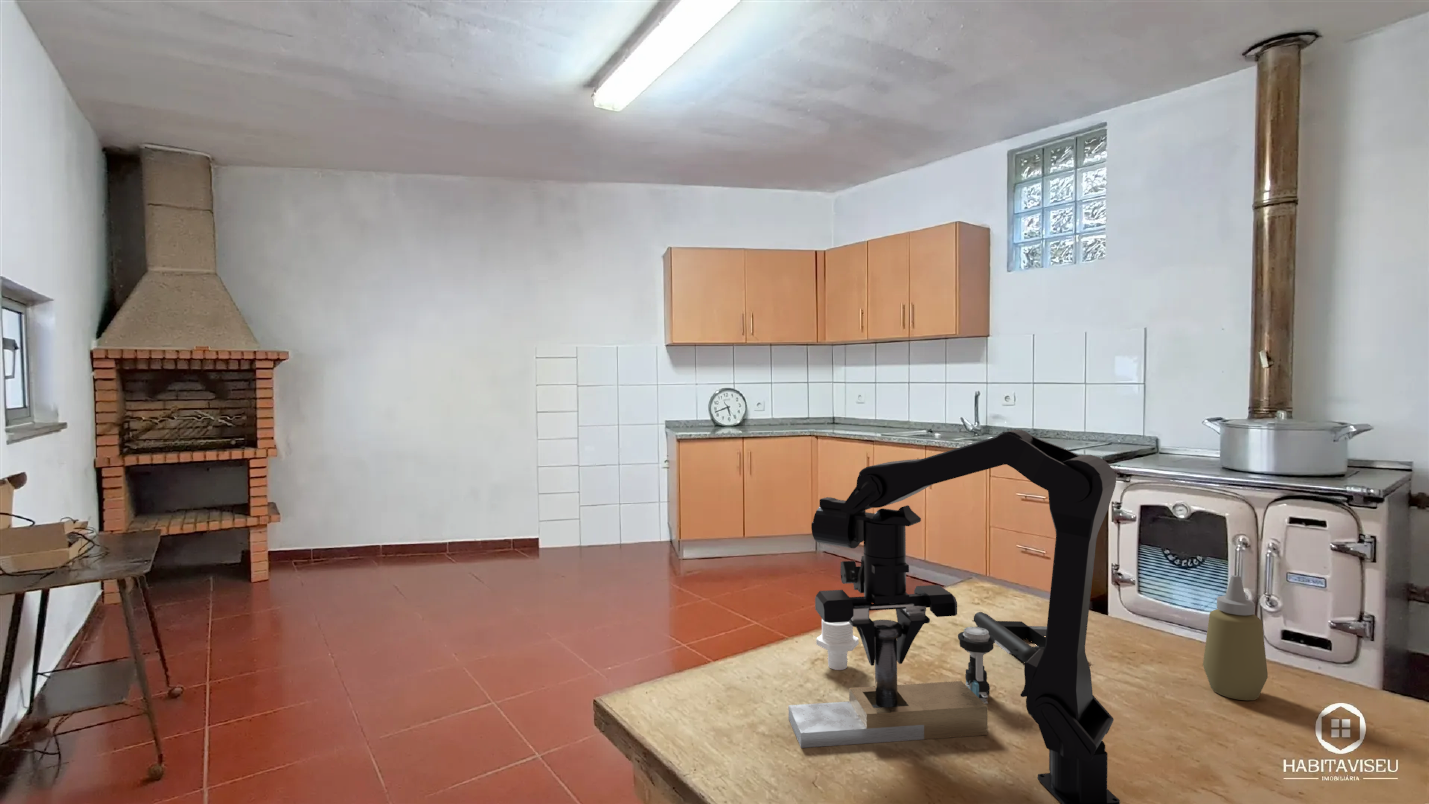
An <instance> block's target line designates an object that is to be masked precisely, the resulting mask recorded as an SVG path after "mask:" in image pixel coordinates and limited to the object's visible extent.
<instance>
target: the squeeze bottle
mask: <svg viewBox="0 0 1429 804" xmlns="http://www.w3.org/2000/svg"><path fill="white" fill-rule="evenodd" d="M1263 627H1264V626H1263V621H1262V619H1261V618H1260V617H1258V616H1257V615H1256V614H1255V602H1254V601H1252V600H1251V599H1248V598H1246V594H1245V589H1244V586H1243V582H1242V577H1241V576H1239V575H1235V574H1234V575H1231V576H1230V579H1229V581H1228V586H1227V590H1226V594H1225V595H1220V596H1217V597H1216V609H1213V610H1212V611H1210V612H1209V615H1208V622H1207V630H1206V637H1205V645H1204V653H1203V660H1202V666H1203V669H1204V673H1205V675H1206V677H1207V680H1208V683H1209V686H1210V689H1211V690H1213V692H1215V693H1216V694H1218V695H1220V696H1224V697H1226V698H1229V699H1234V700H1238V701H1255V700H1257V699H1258V698H1259V697H1260V695H1261V692H1262V690H1263V688H1264V686H1265V684H1266V682H1267V680H1268V677H1269V676H1268V675H1269V673H1268V665H1267V664H1268V663H1267V657H1266V656H1267V655H1266V648H1265V647H1266V646H1265V638H1264V637H1265V636H1264V629H1263Z"/></svg>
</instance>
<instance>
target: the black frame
mask: <svg viewBox="0 0 1429 804" xmlns="http://www.w3.org/2000/svg"><path fill="white" fill-rule="evenodd" d="M973 622H974V623H975V625H976V627H980V628H984V629H986V630H988V632H989V635H991V636H993V637H994V638H995V643H994V644H996V645H997V646H998V647H1000V648H1001V649H1002V650H1003V651H1004V652H1006V653H1007V654H1009V655H1011V656H1013V657H1016V658H1017V659H1019V660H1020V661H1021V662H1023V664H1025V663H1026V662H1027V661H1028V660H1029V659H1030V658H1031V657H1032V656H1033V655H1034V654H1035V653H1036V652H1037V651H1038V650H1039V649H1042V650H1044V648H1045V641H1046V637H1044V636H1046V631H1047V625H1045V626H1041V625H1040V626H1039V625H1036V626H1035V625H1028V624H1026V623H1025V622H1023V621H1013V620H1011V621H1010V620H995V619H994V618H993V617H991V616H990V615H989V614H987V613H985V612H982V611H978V612H976V613H975V614H974V615H973ZM1022 639H1024V640H1028V641H1029V642H1031V641H1032V642H1031V643H1032V644H1033V643H1034V644H1033V645H1034V646H1031V645H1030V644H1029V643H1027V642H1026V641H1024V640H1022ZM1035 644H1036V645H1037V646H1036V645H1035Z"/></svg>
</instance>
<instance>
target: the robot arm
mask: <svg viewBox="0 0 1429 804" xmlns="http://www.w3.org/2000/svg"><path fill="white" fill-rule="evenodd" d="M1004 465H1007V466H1009V467H1010V468H1012V469H1014V470H1016V472H1017V473H1019V474H1021V475H1022V476H1023V477H1024V478H1025V479H1027V480H1028V481H1030V482H1031V483H1033V484H1034V485H1037V486H1038V487H1040V488H1041V489H1044V490H1046V491H1047V493H1048V506H1049V513H1050V515H1051V520H1052V523H1053V526H1054V531H1055V542H1054V552H1053V553H1054V554H1053V564H1052V571H1051V582H1050V584H1051V585H1050V594H1049V603H1048V614H1047V621H1046V622H1047V623H1046V626H1047V631H1046V637H1045V638H1046V641H1045V648H1044V650H1042V649H1039V650H1038V651H1037V652H1036V653H1035V654H1034V655H1033V656H1032V657H1031V658H1030V659H1029V660H1028V661H1027V662H1026V663H1024V669H1023V670H1024V672H1023V673H1024V687H1023V690H1022V691H1021V692H1020V697H1021V698H1025V707H1026V711H1027V714H1028V715H1029V716H1031V718H1032V720H1033V721H1034V723H1036V724H1037V726H1038V728H1039V731H1040V734H1041V737H1042V740H1043V743H1044V745H1045V748H1046V749H1048V752H1049V753H1048V755H1049V756H1048V761H1049V763H1048V770H1049V772H1048V773H1047V772H1046V773H1038V774H1037V780H1038V781H1039V782H1040V783H1041V784H1042V785H1043V786H1044V787H1045V788H1046V789H1047V790H1048V791H1049V792H1050V794H1051V795H1053V796H1054V797H1055V798H1056V800H1058V802H1060V804H1121V800H1120V799H1119V798H1118V797H1117V796H1116V795H1115V794H1114V793H1112V792H1111V791H1110V790H1109V789H1108V752H1107V751H1106V743H1105V742H1104V741H1103V740H1104V738H1105V736H1106V735H1107V734H1108V733H1109V731H1110V729H1111V726H1112V725H1113V722H1114V717H1113V716H1112V715H1111V714H1110V713H1109V711H1108V710H1107V709H1106V708H1105V707H1104V706H1103V705H1102V703H1101V702H1100V701H1099V700H1098V699H1097V697H1095V696H1094V695H1093V693H1094V692H1093V682H1092V674H1091V669H1090V664H1089V661H1088V658H1087V653H1086V641H1087V640H1086V639H1087V631H1088V622H1089V612H1090V605H1091V594H1092V593H1091V592H1092V587H1093V586H1092V585H1093V576H1094V575H1093V574H1094V568H1095V567H1094V565H1095V556H1096V547H1097V539H1098V534H1099V531H1100V529H1101V526H1102V525H1103V522H1104V520H1105V517H1106V516H1107V513H1108V510H1109V507H1110V504H1111V501H1112V499H1113V495H1114V492H1115V488H1116V485H1117V476H1116V473H1115V470H1114V468H1113V467H1111V466H1110V465H1111V464H1109V463H1108V462H1107V461H1106V460H1104V459H1103V458H1101V457H1100V456H1095V455H1093V454H1081V455H1080V454H1077V453H1075V452H1073V451H1071V450H1069V449H1067V448H1065V447H1061V446H1059V445H1056V444H1055V443H1054V444H1053V443H1051V442H1048V441H1045V440H1043V439H1040V438H1038V437H1037V436H1034V435H1033V434H1031V433H1029V432H1027V431H1026V430H1023V429H1012V430H1006V431H1003V432H1000V433H998V435H996V436H993V437H990V438H986V439H983V440H980V441H977V442H974V443H970V444H967V445H963V446H959V447H957V448H953V449H951V450H946V451H944V452H940V453H937V454H934V455H931V456H927V457H923V458H917V459H915V458H914V459H903V460H895V461H894V460H893V461H887V462H883V463H878V464H874V465H869V466H866V467H864V468H862V469H861V470H860V471H859V473H858V477H857V479H856V485H855V487H854V489H853V490H852V491H851V493H850V495H849V496H848V497H847V499H846V500H844V499H838V498H835V497H831V496H830V497H828V496H827V497H823V498H820V499H819V507H818V508H817V509H816V511H815V513H814V516H813V518H812V519H813V520H812V522H811V534H812V537H813V539H814V541H815V542H816V543H818V544H823V545H830V546H834V547H835V546H836V547H842V548H847V549H856V548H858V546H860V544H861V543H863V555H861V559H860V566H857V564H856V561H855V560H842V561H840V581H841V583H842V584H844V585H845V584H853V590H854V591H858V592H859V593H860V594H863V596H849V595H848V594H847V593H846V592H845V591H844V590H843V589H832V590H830V589H829V590H818V592H817V593H816V595H815V598H814V602H815V603H814V610H815V611H816V612H817V614H818V615H819V616H820V618H821V620H822V619H823V620H824V622H828V623H835V622H849V623H850V624H851V625H852V626H853V628H856V630H857V633H858V634H859V636H860V639H861V640H860V641H861V642H862V643H861V644H862V647H863V649H864V651H865V655H866V658H867V661H868V663H869V664H870V666H872V667H873V666H874V667H875V630H874V622H873V621H874V620H872V619H871V618H870V611H871V612H872V611H887V610H889V611H890V610H895V615H896V618H897V619H896V620H897V622H898V623H900V624H901V625H902V636H901V637H899V638H897V664H898V665H902V664H903V663H904V661H905V658H906V657H907V654H908V653H909V650H910V649H911V646H912V644H913V642H914V640H915V638H917V636H918V634H919V632H920V630H922V627H924V625H925V624H929V623H930V621H931V618H930V617H928V616H927V615H926V611H927V608H929V611H930V612H931V613H932V614H933V615H934V616H935V617H937V618H942V617H956V616H957V615H958V601H957V598H956V597H955V595H953V593H951V592H950V591H948V590H947V589H946V588H944V587H942V585H940V584H933V585H916V586H915V588H914V590H913V591H914V592H913V593H907V573H910V565H909V564H908V562H907V558H906V557H907V555H906V553H907V550H906V549H907V547H906V546H907V545H906V541H907V539H906V535H907V534H906V527H911V526H913V525H915V524H919V523H920V522H921V521H922V518H921V517H920V516H919V515H918V514H917V513H915V511H913V509H911V506H910V505H904V506H901V507H899V508H898V509H891V508H890V509H889V508H883V507H885V506H890V505H893V504H895V503H898V502H901V501H904V500H906V499H908V498H911V497H912V496H914V495H916V494H919V493H920V492H921V491H924V490H925V489H927V488H929V487H930V486H933V485H935V484H940V483H942V482H947V481H951V480H955V479H957V478H961V477H964V476H968V475H971V474H976V473H979V472H982V471H987V470H990V469H993V468H997V467H1001V466H1004ZM876 508H877V510H876V512H867V511H868V510H871V509H876ZM878 508H879V509H878Z"/></svg>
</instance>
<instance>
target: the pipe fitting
mask: <svg viewBox="0 0 1429 804" xmlns="http://www.w3.org/2000/svg"><path fill="white" fill-rule="evenodd" d="M859 641H860V640H859V637H857V636H855V635H854V627H853V626H852V625H851V624H850V623H849V622H835V623H828V622H824V620H823V619H822V618H821V634H820V635H818V636H817V637H816V639H815V644H816V646H819V647H821V648H823V649H824V650H827V665H828V668H830V669H832V670H836V671H843V670H845V669H847V668H848V660H849V659H848V652H853V650H854V649H856V647H857V646H858V645H859V643H860V642H859Z"/></svg>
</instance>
